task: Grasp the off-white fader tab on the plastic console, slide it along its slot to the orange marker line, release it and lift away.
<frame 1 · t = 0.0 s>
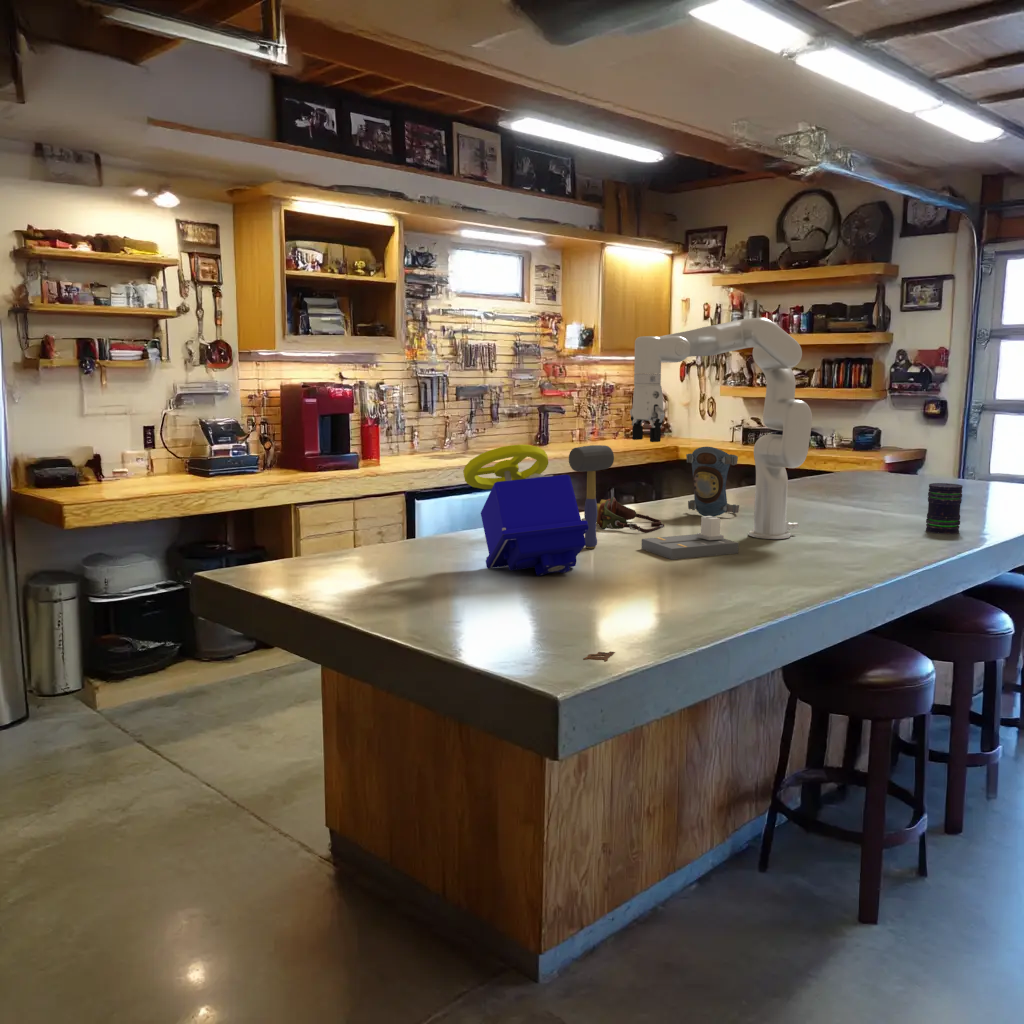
hand: (646, 440, 257), 31 cm above the worktop, tool pointing down, fingers open, 9 cm apart
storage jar: (942, 532, 286), on the worktop
goggles: (628, 528, 296), on the worktop
fader: (710, 527, 258), point 6 cm above the worktop, slide at -7.0 cm
brown piece: (616, 646, 170), on the worktop
rubber mallet: (590, 548, 261), on the worktop
console: (689, 551, 256), on the worktop
knee pad: (712, 515, 320), on the worktop
blue valve actuator: (522, 571, 231), on the worktop
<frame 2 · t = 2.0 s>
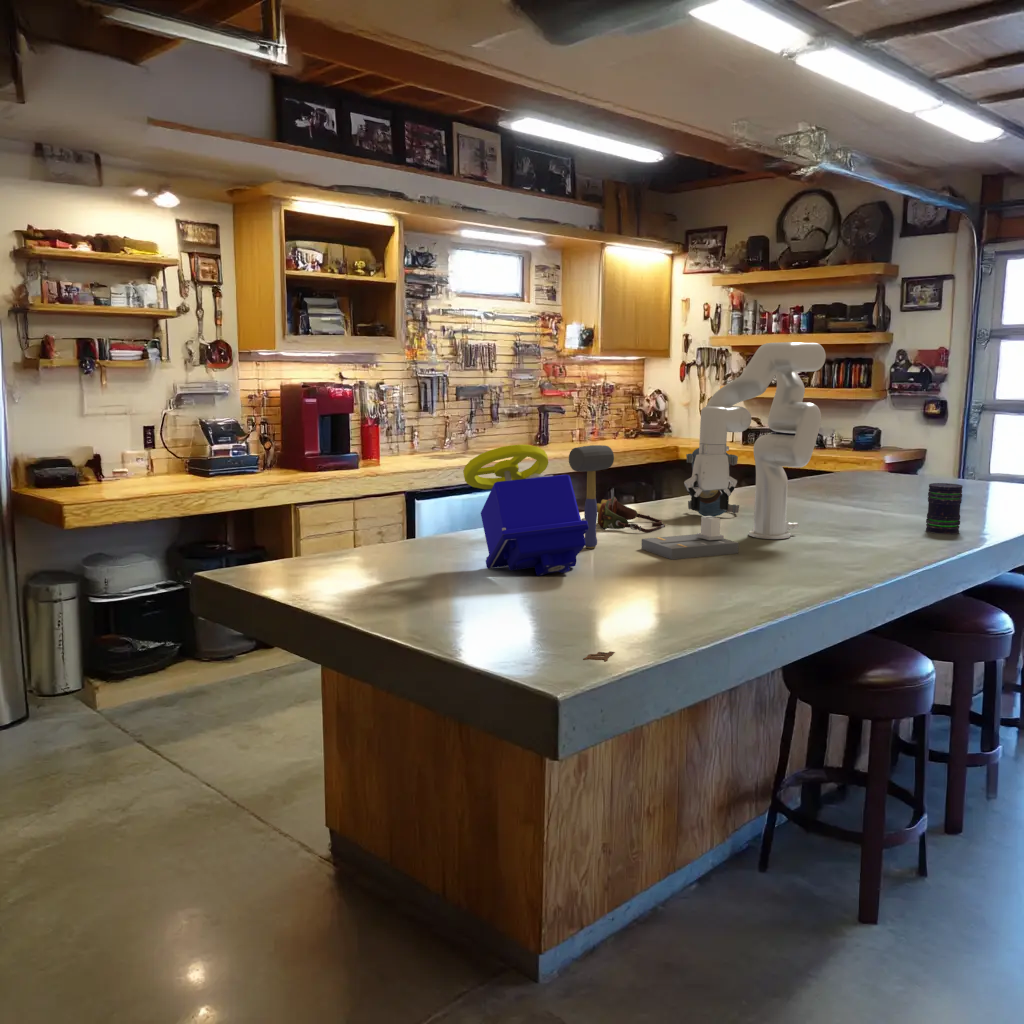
hand: (709, 509, 256), 12 cm above the worktop, tool pointing down, fingers open, 9 cm apart
nothing on the worktop moved.
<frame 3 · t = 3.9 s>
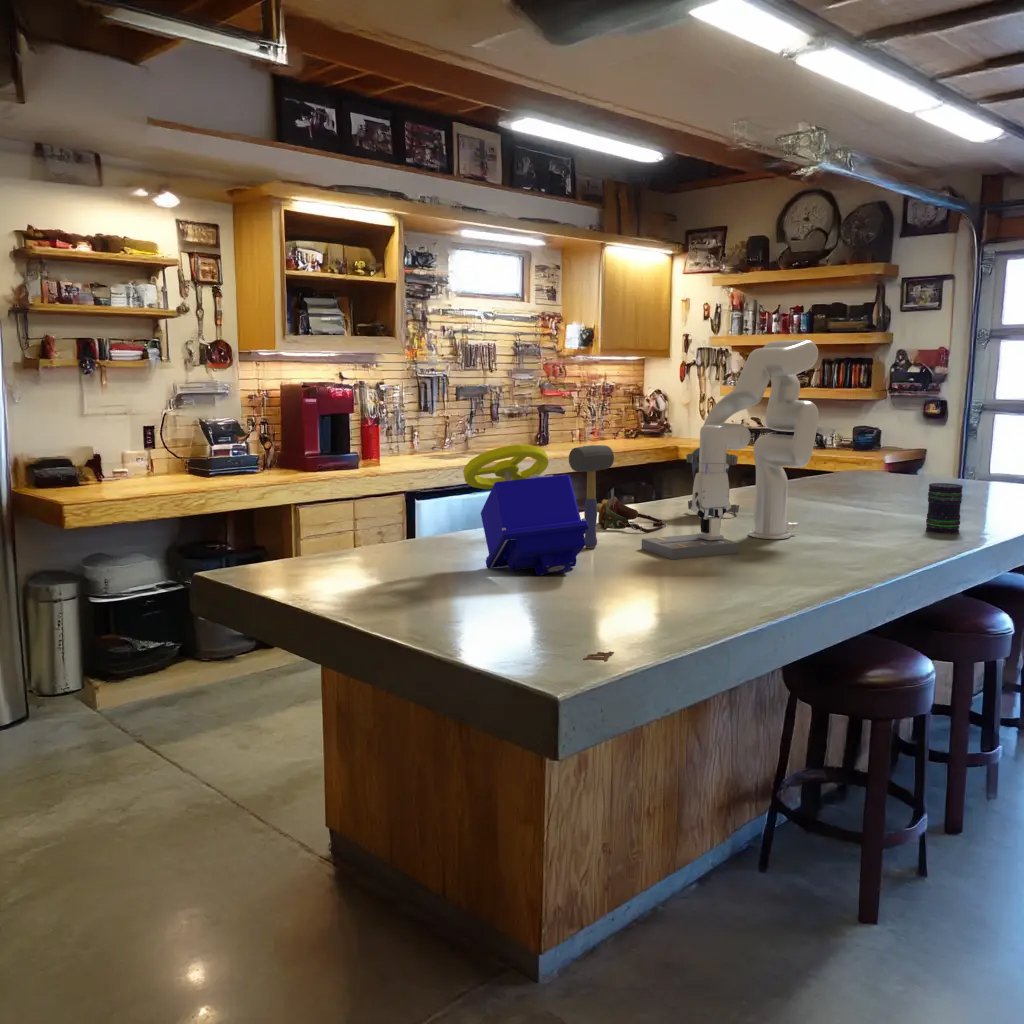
hand: (710, 531, 258), 5 cm above the worktop, tool pointing down, fingers closed on fader, 3 cm apart
fader: (710, 527, 258), point 6 cm above the worktop, slide at -7.0 cm, touching gripper
everything else where it was.
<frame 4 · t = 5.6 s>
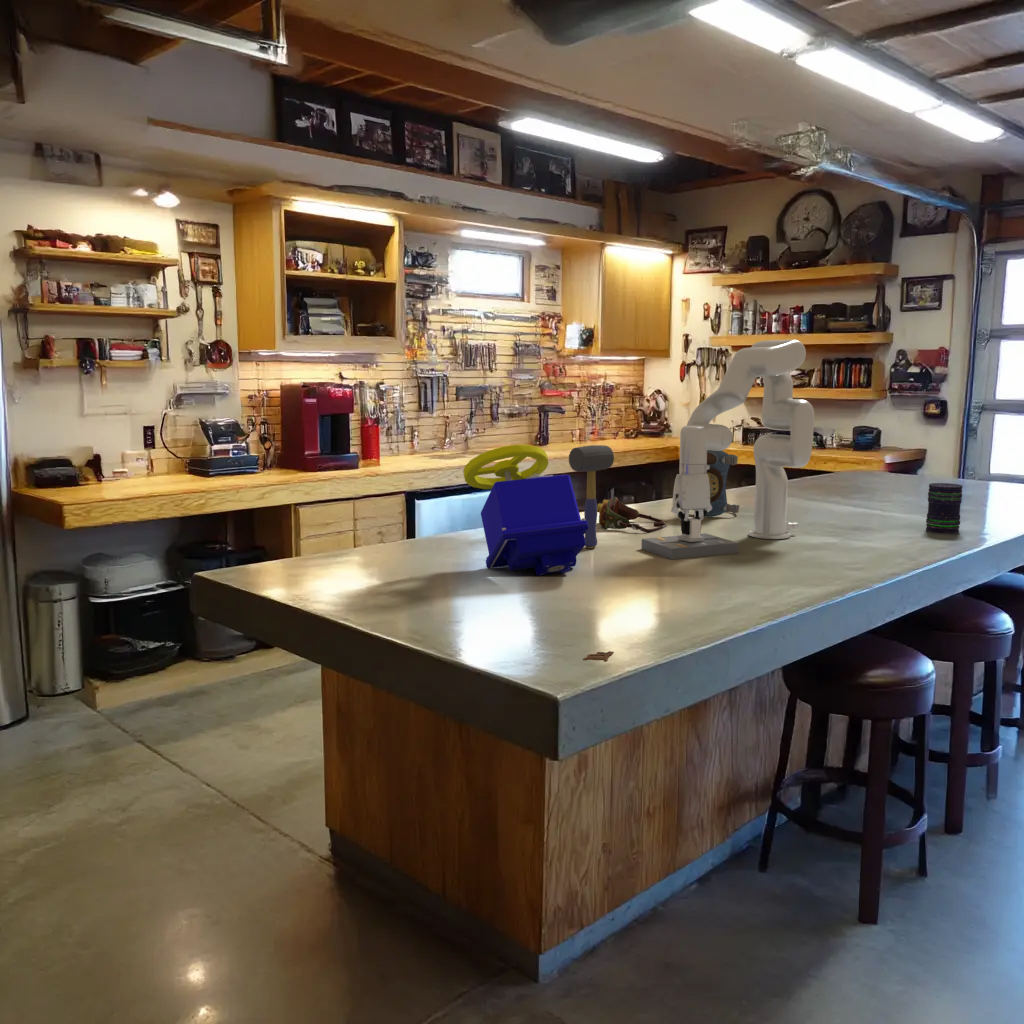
hand: (691, 533, 255), 5 cm above the worktop, tool pointing down, fingers closed on fader, 3 cm apart
fader: (691, 529, 255), point 6 cm above the worktop, slide at -0.5 cm, touching gripper
everything else where it was.
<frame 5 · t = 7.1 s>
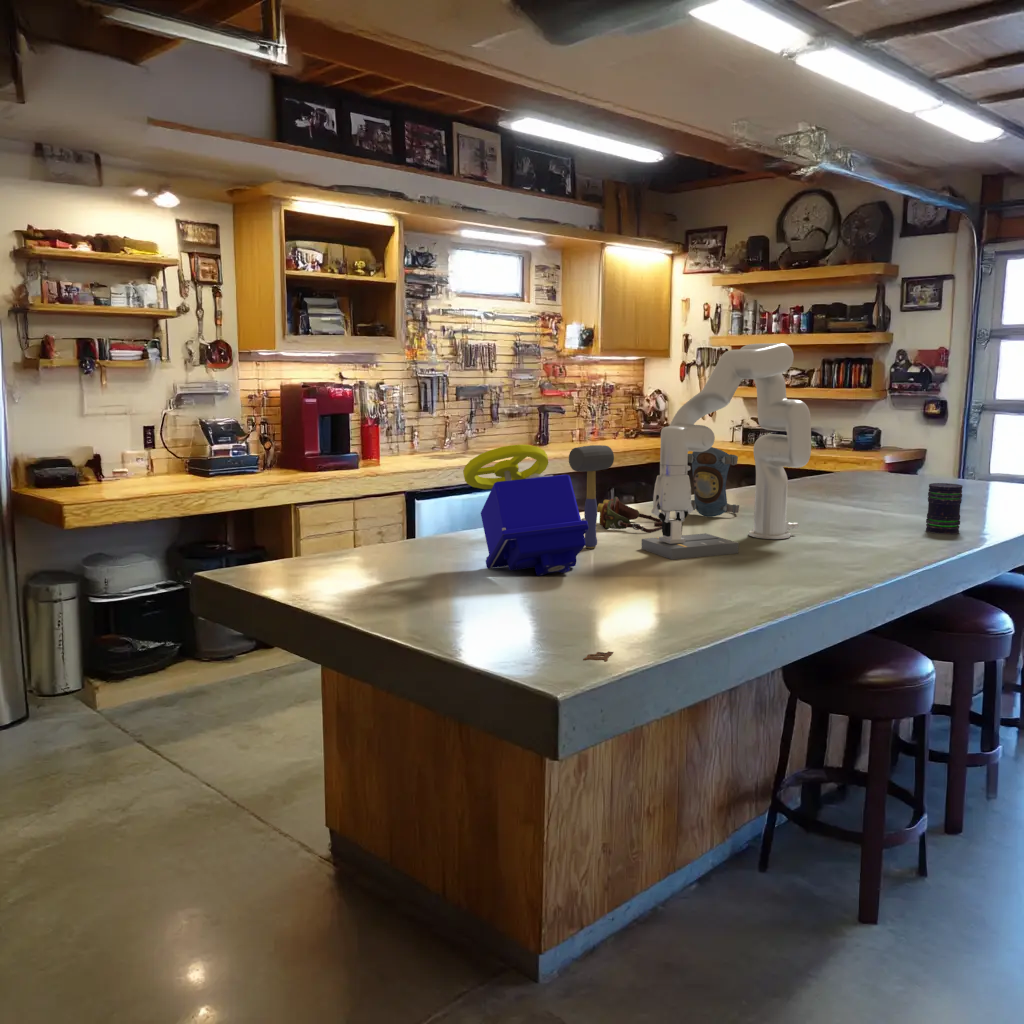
hand: (671, 534, 253), 5 cm above the worktop, tool pointing down, fingers closed on fader, 3 cm apart
fader: (672, 530, 253), point 6 cm above the worktop, slide at 5.9 cm, touching gripper
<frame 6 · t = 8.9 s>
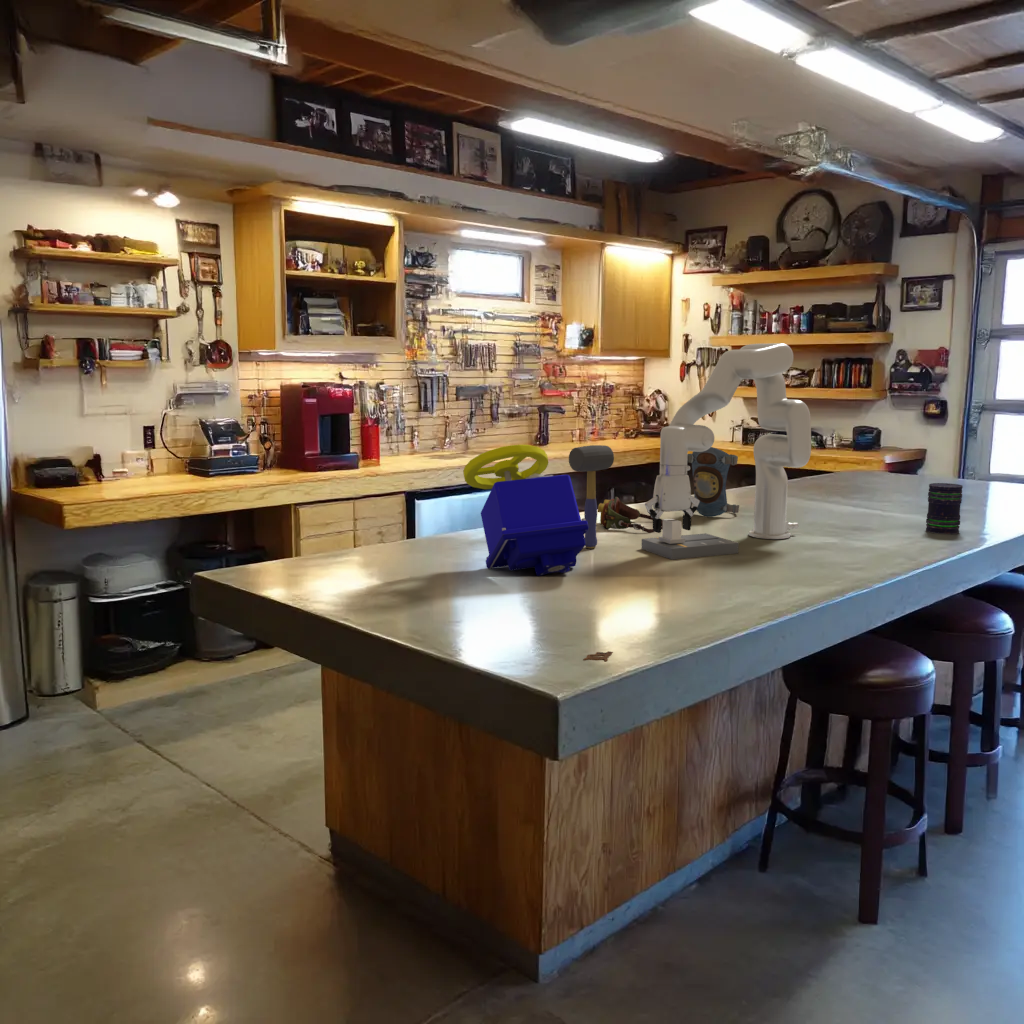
hand: (671, 530, 253), 6 cm above the worktop, tool pointing down, fingers open, 9 cm apart
fader: (671, 530, 253), point 6 cm above the worktop, slide at 6.0 cm
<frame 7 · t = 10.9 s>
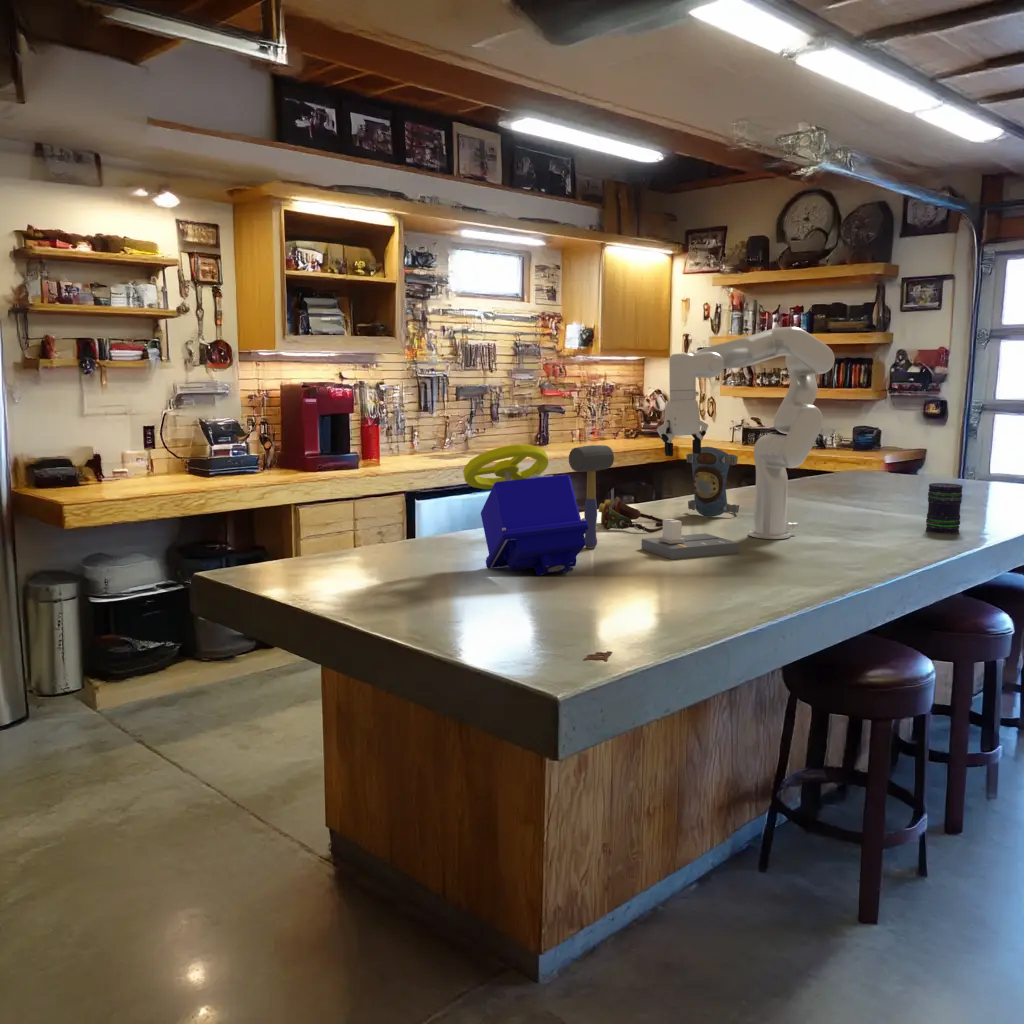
hand: (682, 454, 263), 27 cm above the worktop, tool pointing down, fingers open, 9 cm apart
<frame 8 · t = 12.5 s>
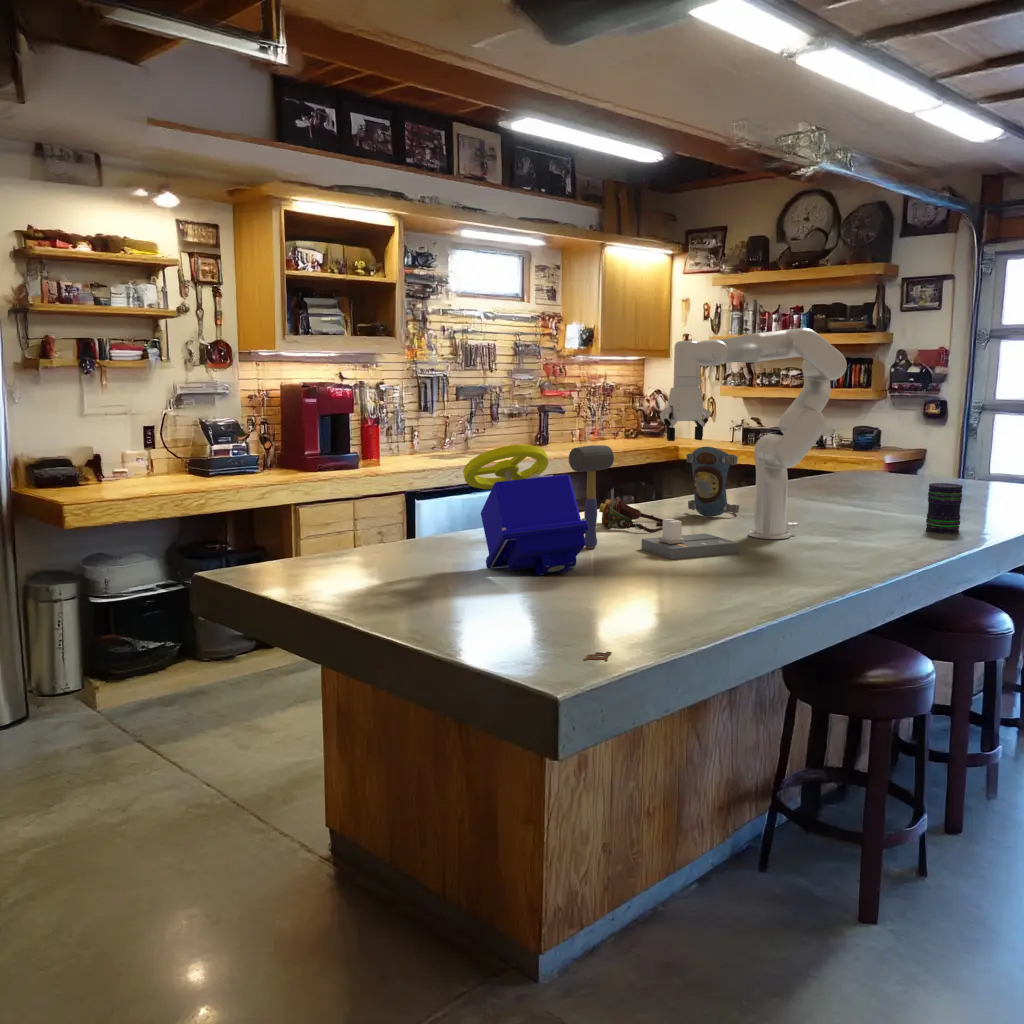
hand: (684, 440, 269), 30 cm above the worktop, tool pointing down, fingers open, 9 cm apart
at the end: fader slide at 6.0 cm; rubber mallet moved 0.2 cm from its start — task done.
